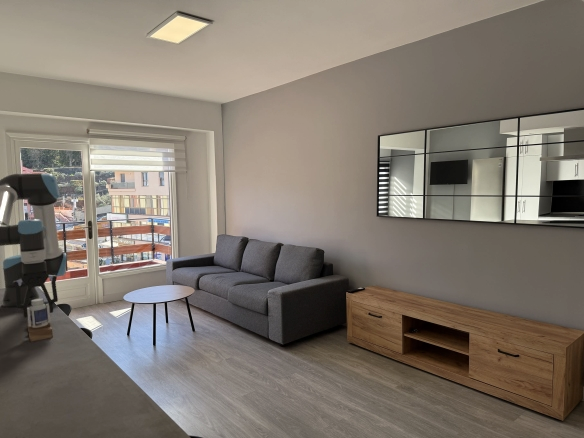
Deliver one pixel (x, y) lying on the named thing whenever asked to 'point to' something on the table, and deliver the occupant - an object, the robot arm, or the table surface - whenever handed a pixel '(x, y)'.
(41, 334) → the brown wooden rack
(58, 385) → the table surface
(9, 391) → the table surface
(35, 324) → the pill bottle
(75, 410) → the table surface
